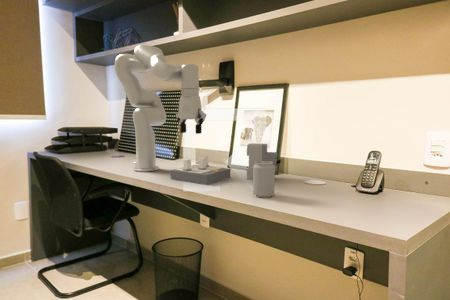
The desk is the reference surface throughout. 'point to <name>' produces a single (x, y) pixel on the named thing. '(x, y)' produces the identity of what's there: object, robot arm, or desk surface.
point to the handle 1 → (187, 164)
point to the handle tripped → (202, 163)
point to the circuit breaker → (259, 157)
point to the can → (263, 179)
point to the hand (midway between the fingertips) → (190, 132)
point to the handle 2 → (206, 159)
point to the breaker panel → (201, 174)
